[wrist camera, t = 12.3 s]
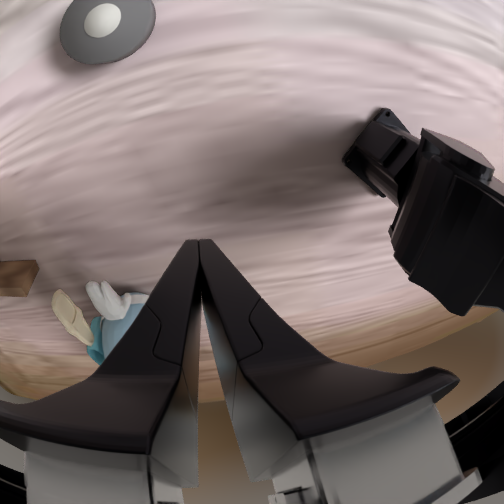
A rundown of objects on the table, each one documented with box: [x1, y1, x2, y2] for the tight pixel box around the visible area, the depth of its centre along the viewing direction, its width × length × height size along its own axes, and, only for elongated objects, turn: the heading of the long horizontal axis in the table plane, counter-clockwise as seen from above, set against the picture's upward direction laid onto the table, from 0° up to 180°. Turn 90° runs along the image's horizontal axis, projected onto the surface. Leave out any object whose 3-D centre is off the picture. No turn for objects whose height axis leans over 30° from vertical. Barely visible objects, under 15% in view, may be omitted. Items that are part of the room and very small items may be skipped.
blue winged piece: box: [52, 280, 149, 365], centre depth 23 cm, size 17×10×15 cm, turn 7°
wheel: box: [60, 0, 156, 64], centre depth 11 cm, size 6×6×3 cm
